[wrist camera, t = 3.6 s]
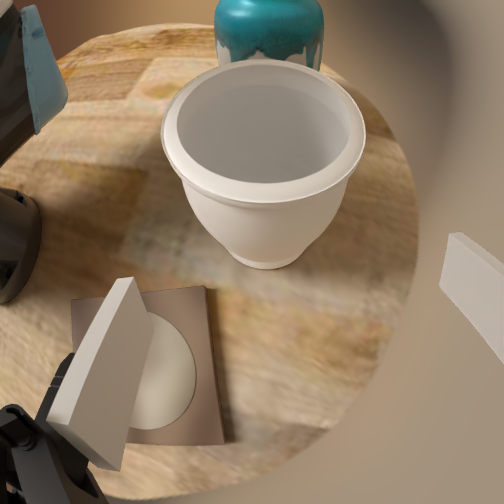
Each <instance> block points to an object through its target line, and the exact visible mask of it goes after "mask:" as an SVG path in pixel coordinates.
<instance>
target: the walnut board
mask: <svg viewBox="0 0 504 504" xmlns="http://www.w3.org/2000/svg"><path fill="white" fill-rule="evenodd" d="M140 295H141V298H142V300H143V303H144V305H145V308H146V311H147V313H148V316H149V318H150V321H151V323H152V326H153V328H154V334H153V338H152V341H151V345H150V348H149V352H148V355H147V359H146V362H145V366H144V370H143V373H142V377H141V381H140V385H139V389H138V392H137V396H136V400H135V404H134V409H133V413H132V417H131V421H130V426H129V430H128V434H127V439H126V442H128V443H140V444H156V445H221V444H225V442H226V436H225V429H224V423H223V417H222V410H221V403H220V397H219V390H218V382H217V375H216V367H215V360H214V352H213V343H212V335H211V326H210V317H209V307H208V298H207V288H206V287H205V286H204V285H202V286H194V287H186V288H178V289H169V290H161V291H152V292H143V293H140ZM106 297H107V296H105V297H95V298H85V299H74V300H71V316H72V341H73V353H76V352H77V350H78V348H79V346H80V344H81V342H82V340H83V339H84V337H85V335H86V333H87V331H88V329H89V327H90V325H91V323H92V322H93V320H94V318H95V316H96V314H97V312H98V311H99V309H100V307H101V305H102V304H103V302H104V300H105V298H106Z"/></svg>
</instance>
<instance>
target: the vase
mask: <svg viewBox="0 0 504 504" xmlns="http://www.w3.org/2000/svg"><path fill="white" fill-rule="evenodd" d="M214 31H215V43H216V50H217V57H218V63H219V66H221V65H225V64H228V63H232V62H237V61H243V60H253V59H272V60H281V61H287V62H292V63H296V64H300V65H303V66H306V67H309V68H311V69H314V70H316V71H318V72H319V70H320V64H321V58H322V49H323V40H324V17H323V12H322V8H321V6H320V4H319V3H318V2H317V0H220V1H219V3H218V5H217V7H216V10H215V17H214Z"/></svg>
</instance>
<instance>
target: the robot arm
mask: <svg viewBox="0 0 504 504" xmlns="http://www.w3.org/2000/svg"><path fill="white" fill-rule="evenodd" d="M67 99H68V90H67V87H66V84H65V82H64V80H63V77H62V75H61V72H60V70H59V67H58V65H57V62H56V60H55V57H54V55H53V52H52V50H51V47H50V44H49V42H48V40H47V37H46V34H45V31H44V28H43V26H42V22H41V19H40V16H39V13H38V10H37V7H36V6H35V5H31V6H28V7H24V8H23V9H22V10H21V12H19V11H18V10H17V8H16V6H15V4H14V3H13V1H12V0H0V168H1V167H2V166H3V165H4V164H5V162H6V161H7V160H8V159H9V158H10V157H11V156H12V155H13V154H14V153H15V152H16V151H17V150H18V149H19V148H21V147H22V146H23V145H24V144H25V143H26V142H27V141H28V140H29V139H30V138H31V137H32V136H33V135H38V134H39V133H40V130H41V129H42V128H43V127H44V126H45V125H46V124H47V123H48V122H49V121H50V120H51V119H53V118H54V117H55V116H56V115H57V114H58V113H59V112H60V111H61V110H62V109H63V108H64V106H65V105H66V102H67ZM40 238H41V218H40V213H39V210H38V207H37V205H36V204H35V202H34V201H33V200H31V199H30V198H29V197H28V196H26V195H25V194H24V193H22V192H20V191H18V190H14V189H9V188H5V187H1V186H0V304H2V303H6V302H8V301H10V300H11V299H12V298H14V297H15V296H16V295H17V294H18V293H19V291H20V290H21V289H22V287H23V286H24V284H25V283H26V281H27V279H28V277H29V275H30V273H31V271H32V269H33V266H34V263H35V261H36V257H37V254H38V250H39V245H40ZM439 288H440V289H441V290H442V291H443V292H444V293H445V294H446V295H447V296H448V297H449V298H450V300H451V301H452V302H453V303H454V304H455V305H456V306H457V307H458V309H459V310H460V311H461V312H462V313H463V314H464V315H465V316H466V318H467V319H468V320H469V321H470V322H471V324H472V325H473V326H474V327H475V328H476V330H477V331H478V332H479V333H480V335H481V336H482V337H483V338H484V340H485V341H486V342H487V343H488V345H489V346H490V347H491V348H492V350H493V351H494V352H495V353H496V355H497V356H498V357H499V359H500V360H501V362H502V363H503V364H504V264H503V263H502V262H501V261H499V260H498V259H497V258H495V257H494V256H493V255H492V254H490V253H489V252H488V251H487V250H485V249H484V248H483V247H481V246H480V245H478V244H477V243H476V242H475V241H473V240H472V239H470V238H469V237H467V236H466V235H465V234H463V233H462V232H454V233H449V236H448V243H447V248H446V254H445V259H444V265H443V269H442V274H441V278H440V283H439ZM153 334H154V328H153V326H152V323H151V321H150V318H149V316H148V313H147V311H146V308H145V305H144V303H143V300H142V298H141V295H140V292H139V289H138V287H137V284H136V281H135V278H134V277H127V278H119V279H117V280H116V281H115V283H114V285H113V286H112V288H111V290H110V291H109V293H108V295H107V297H106V298H105V300H104V302H103V304H102V305H101V307H100V309H99V311H98V312H97V314H96V316H95V318H94V320H93V322H92V323H91V325H90V327H89V329H88V331H87V333H86V335H85V337H84V339H83V340H82V342H81V344H80V346H79V348H78V350H77V352H76V353H70V354H69V355H68V356H67V357H66V358H65V359H64V360H63V361H62V362H61V364H60V366H59V368H58V370H57V372H56V374H55V377H54V378H53V380H52V382H51V384H50V385H51V387H49V388H48V391H47V393H46V395H45V397H44V399H43V401H42V404H41V406H40V408H39V411H38V413H37V415H36V418H35V420H33V419H32V418H31V417H30V416H29V415H28V414H27V413H26V411H25V410H24V409H23V408H22V407H20V406H19V405H17V404H10V405H7V406H5V407H3V408H2V409H1V410H0V504H109V503H108V501H107V499H106V498H105V496H104V494H103V493H102V491H101V489H100V487H99V486H98V484H97V482H96V480H95V478H94V476H93V474H92V473H91V471H90V470H89V469H88V468H87V466H88V462H89V461H91V462H92V463H93V464H94V465H96V466H97V467H98V468H101V469H107V470H112V471H118V472H120V468H121V463H122V458H123V453H124V448H125V444H126V439H127V434H128V430H129V426H130V421H131V417H132V413H133V409H134V404H135V400H136V396H137V392H138V389H139V385H140V381H141V377H142V373H143V370H144V366H145V362H146V359H147V355H148V352H149V348H150V345H151V341H152V338H153ZM6 482H7V483H8V484H10V485H11V486H12V487H13V490H12V493H10V492H9V491H7V489H6Z"/></svg>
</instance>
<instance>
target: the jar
mask: <svg viewBox="0 0 504 504" xmlns="http://www.w3.org/2000/svg"><path fill="white" fill-rule="evenodd" d="M365 138H366V131H365V124H364V120H363V116H362V114H361V112H360V109H359V108H358V106H357V104H356V103H355V101H354V100H353V98H352V97H351V96H350V95H349V94H348V92H347V91H346V90H345V89H343V88H342V87H341V86H340V85H339V84H338V83H336V82H335V81H334V80H332V79H331V78H329V77H327V76H326V75H324V74H322V73H320V72H318V71H316V70H314V69H311V68H309V67H306V66H303V65H300V64H296V63H292V62H287V61H281V60H272V59H253V60H243V61H237V62H232V63H228V64H225V65H221V66H219V67H216V68H213V69H211V70H209V71H206V72H204V73H203V74H201V75H199V76H197V77H196V78H194V79H193V80H191V81H190V82H189V83H187V84H186V85H185V86H184V87H183V88H182V89H180V90H179V92H178V93H177V94H176V95H175V96H174V97H173V99H172V100H171V102H170V103H169V105H168V107H167V108H166V111H165V113H164V116H163V119H162V123H161V142H162V146H163V150H164V152H165V154H166V156H167V158H168V160H169V162H170V164H171V166H172V167H173V169H174V170H175V172H176V173H177V174H178V175H179V177H180V178H181V179H182V183H183V187H184V190H185V193H186V196H187V198H188V201H189V203H190V205H191V207H192V209H193V211H194V213H195V215H196V216H197V218H198V219H199V221H200V222H201V224H202V225H203V226H204V227H205V229H206V230H207V231H208V232H209V233H210V234H211V235H212V236H213V237H214V238H215V239H216V240H218V241H219V242H220V243H221V244H222V245H223V246H224V247H225V248H226V249H227V251H228V252H229V253H230V254H231V255H232V256H233V257H234V258H235V259H236V260H238V261H239V262H241V263H243V264H245V265H247V266H250V267H253V268H257V269H275V268H280V267H283V266H285V265H288V264H290V263H291V262H293V261H294V260H296V259H297V258H298V257H299V256H300V255H301V254H302V253H303V252H304V250H305V249H306V248H307V247H308V246H309V245H310V244H311V243H312V242H313V241H314V240H315V239H317V238H318V237H319V236H320V235H321V234H322V233H323V231H324V230H325V229H326V228H327V227H328V225H329V224H330V223H331V221H332V220H333V218H334V216H335V215H336V213H337V211H338V209H339V207H340V204H341V202H342V199H343V197H344V193H345V190H346V186H347V182H348V179H349V177H350V176H351V175H352V174H353V172H354V171H355V169H356V168H357V166H358V164H359V162H360V159H361V157H362V154H363V150H364V145H365Z"/></svg>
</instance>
